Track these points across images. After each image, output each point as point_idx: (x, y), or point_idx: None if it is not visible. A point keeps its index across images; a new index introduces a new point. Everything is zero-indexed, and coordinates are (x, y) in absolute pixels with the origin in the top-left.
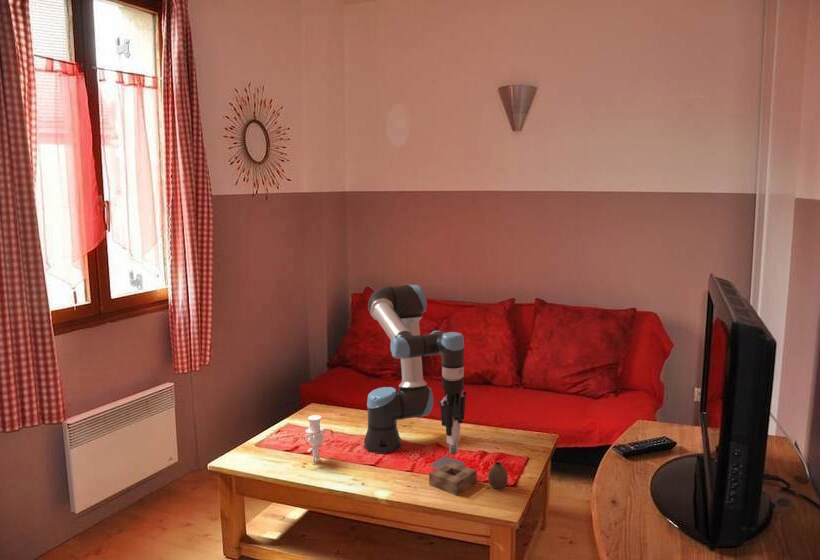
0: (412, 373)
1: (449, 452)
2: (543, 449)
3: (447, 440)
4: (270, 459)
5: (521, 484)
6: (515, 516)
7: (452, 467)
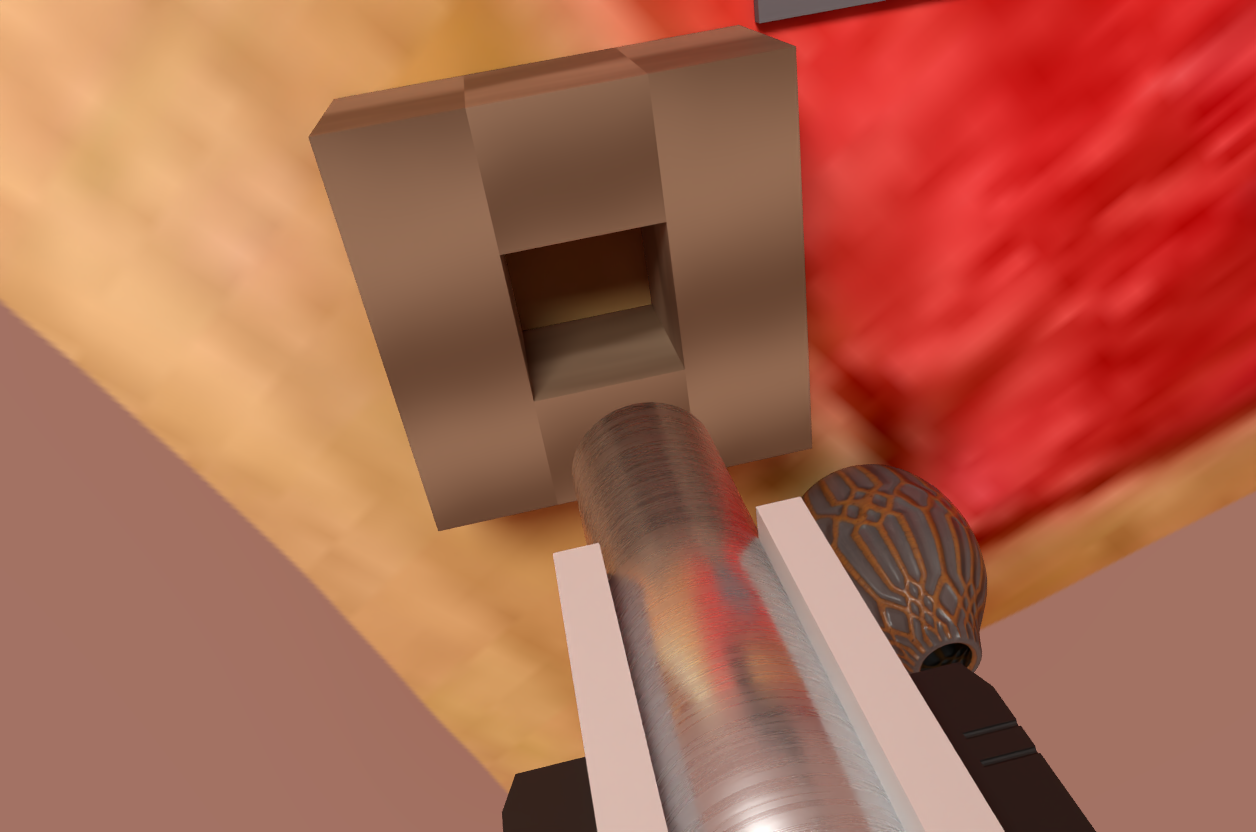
0: None
1: (578, 458)
2: None
3: (564, 614)
4: None
5: (986, 575)
6: None
7: (679, 224)
